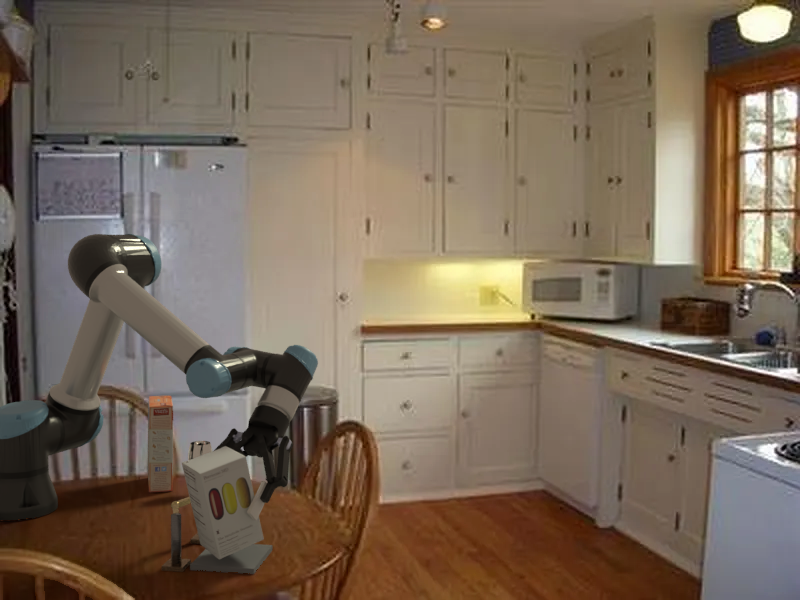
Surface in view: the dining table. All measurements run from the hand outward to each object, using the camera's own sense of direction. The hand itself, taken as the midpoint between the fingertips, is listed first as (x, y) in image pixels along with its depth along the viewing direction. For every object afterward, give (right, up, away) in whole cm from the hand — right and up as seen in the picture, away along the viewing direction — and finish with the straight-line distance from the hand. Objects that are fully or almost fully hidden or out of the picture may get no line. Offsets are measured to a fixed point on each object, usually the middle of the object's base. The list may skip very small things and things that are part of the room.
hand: (224, 511), depth 157 cm
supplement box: (+1, -6, +2) cm, 7 cm away
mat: (+1, -10, +3) cm, 10 cm away
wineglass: (-15, -7, +44) cm, 47 cm away
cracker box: (-26, -6, +51) cm, 57 cm away
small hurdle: (-8, -10, +6) cm, 14 cm away
